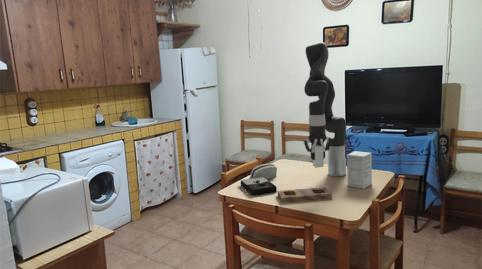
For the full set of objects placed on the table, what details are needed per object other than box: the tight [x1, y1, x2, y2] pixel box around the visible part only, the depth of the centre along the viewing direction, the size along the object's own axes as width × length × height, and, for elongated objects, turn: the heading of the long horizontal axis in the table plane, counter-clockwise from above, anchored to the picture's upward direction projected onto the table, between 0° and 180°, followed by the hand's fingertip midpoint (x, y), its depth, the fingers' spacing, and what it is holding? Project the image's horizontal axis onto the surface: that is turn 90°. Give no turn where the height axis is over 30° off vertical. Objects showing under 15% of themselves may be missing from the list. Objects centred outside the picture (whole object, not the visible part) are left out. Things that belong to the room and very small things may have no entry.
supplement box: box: [346, 150, 373, 189], centre depth 188 cm, size 10×9×17 cm
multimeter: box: [240, 177, 278, 197], centre depth 192 cm, size 13×19×5 cm
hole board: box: [277, 186, 333, 204], centre depth 176 cm, size 24×10×3 cm, turn 95°
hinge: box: [248, 163, 278, 180], centre depth 208 cm, size 17×5×10 cm, turn 121°
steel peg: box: [312, 145, 325, 168], centre depth 173 cm, size 4×4×10 cm
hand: (317, 159), depth 173 cm, fingers closed on steel peg, 4 cm apart
